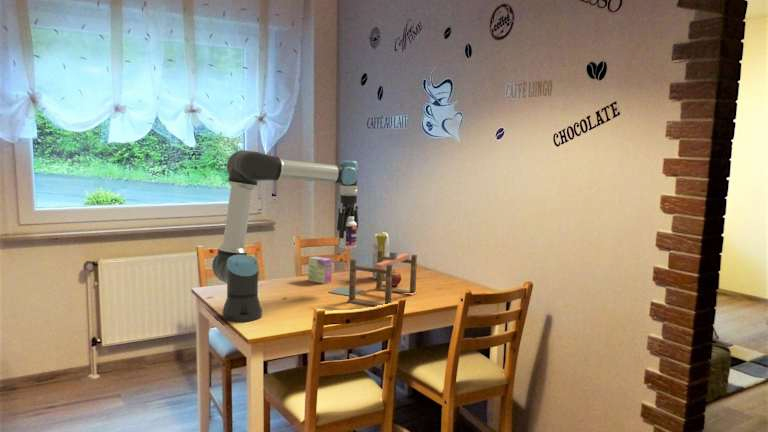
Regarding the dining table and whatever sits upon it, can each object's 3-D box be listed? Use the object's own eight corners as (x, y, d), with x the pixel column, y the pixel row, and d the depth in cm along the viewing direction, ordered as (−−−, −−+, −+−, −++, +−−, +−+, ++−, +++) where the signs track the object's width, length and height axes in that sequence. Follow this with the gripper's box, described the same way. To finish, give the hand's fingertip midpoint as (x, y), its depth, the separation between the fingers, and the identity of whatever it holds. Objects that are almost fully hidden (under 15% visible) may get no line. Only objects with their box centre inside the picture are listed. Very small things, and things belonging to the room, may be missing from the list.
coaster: (351, 296, 262) (351, 295, 262) (328, 292, 267) (328, 291, 267) (363, 290, 272) (363, 289, 272) (341, 287, 278) (341, 286, 278)
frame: (388, 309, 244) (389, 265, 241) (347, 302, 252) (348, 260, 250) (416, 293, 270) (417, 254, 268) (379, 287, 279) (380, 250, 277)
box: (331, 282, 287) (332, 258, 286) (324, 284, 283) (324, 260, 281) (315, 278, 293) (315, 255, 291) (308, 280, 288) (308, 257, 287)
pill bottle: (353, 249, 262) (354, 218, 261) (336, 248, 264) (337, 217, 262) (358, 246, 270) (358, 216, 268) (341, 245, 272) (342, 215, 270)
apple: (392, 282, 290) (393, 267, 289) (404, 285, 284) (404, 269, 283) (381, 285, 284) (381, 269, 283) (392, 288, 279) (393, 272, 278)
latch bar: (381, 269, 244) (381, 258, 243) (375, 268, 245) (375, 257, 244) (409, 258, 270) (409, 247, 269) (403, 257, 271) (404, 247, 270)
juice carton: (387, 280, 294) (389, 234, 291) (372, 280, 294) (373, 233, 291) (387, 276, 303) (389, 231, 300) (372, 276, 303) (374, 230, 300)
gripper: (344, 196, 253) (342, 248, 256) (366, 193, 272) (365, 241, 274) (329, 195, 256) (328, 246, 259) (352, 192, 275) (351, 240, 278)
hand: (347, 243), depth 267 cm, fingers closed on pill bottle, 8 cm apart
